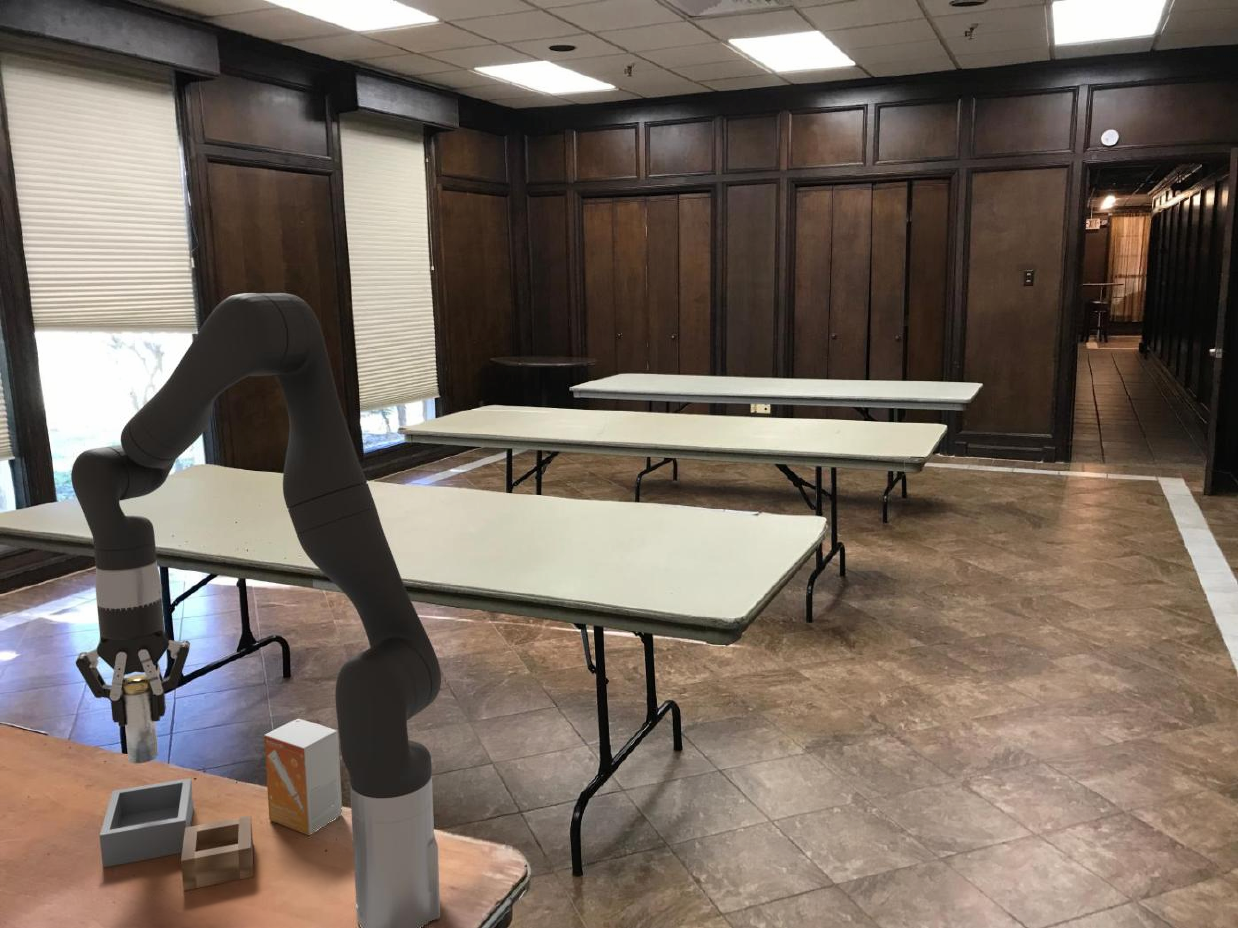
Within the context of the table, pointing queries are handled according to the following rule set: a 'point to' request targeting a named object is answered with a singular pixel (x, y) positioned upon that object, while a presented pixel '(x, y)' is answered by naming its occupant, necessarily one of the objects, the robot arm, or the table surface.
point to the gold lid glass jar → (139, 719)
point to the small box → (303, 775)
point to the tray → (146, 822)
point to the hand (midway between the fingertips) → (140, 720)
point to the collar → (217, 853)
